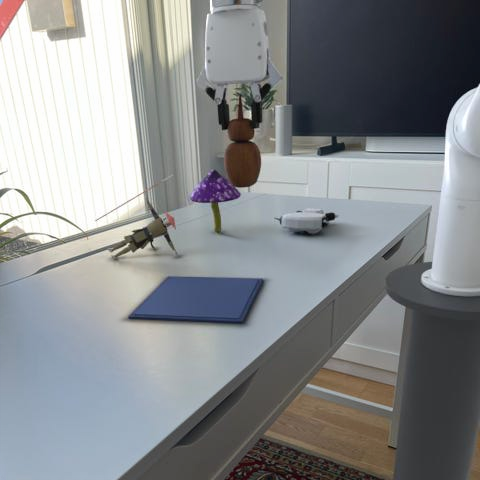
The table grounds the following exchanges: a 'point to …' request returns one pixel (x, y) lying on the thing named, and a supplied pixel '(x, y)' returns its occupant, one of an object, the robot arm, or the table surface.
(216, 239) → the table surface
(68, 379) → the table surface
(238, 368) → the table surface
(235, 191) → the decorative mushroom
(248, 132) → the wooden figurine
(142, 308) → the blue square tray
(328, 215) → the robot toy
